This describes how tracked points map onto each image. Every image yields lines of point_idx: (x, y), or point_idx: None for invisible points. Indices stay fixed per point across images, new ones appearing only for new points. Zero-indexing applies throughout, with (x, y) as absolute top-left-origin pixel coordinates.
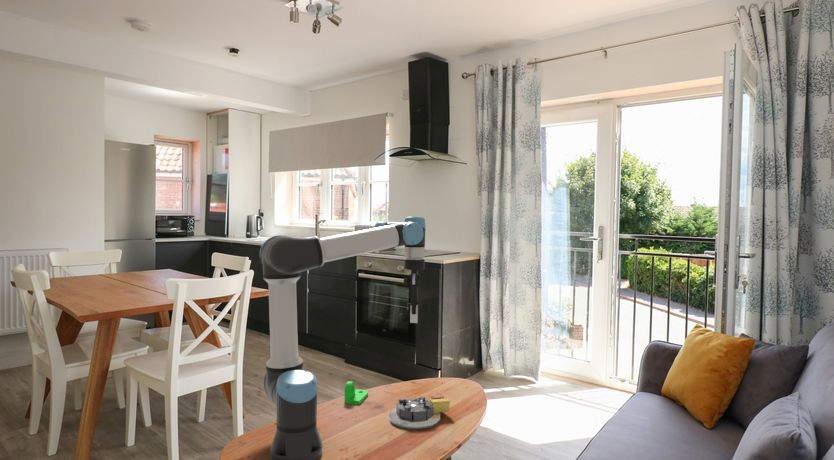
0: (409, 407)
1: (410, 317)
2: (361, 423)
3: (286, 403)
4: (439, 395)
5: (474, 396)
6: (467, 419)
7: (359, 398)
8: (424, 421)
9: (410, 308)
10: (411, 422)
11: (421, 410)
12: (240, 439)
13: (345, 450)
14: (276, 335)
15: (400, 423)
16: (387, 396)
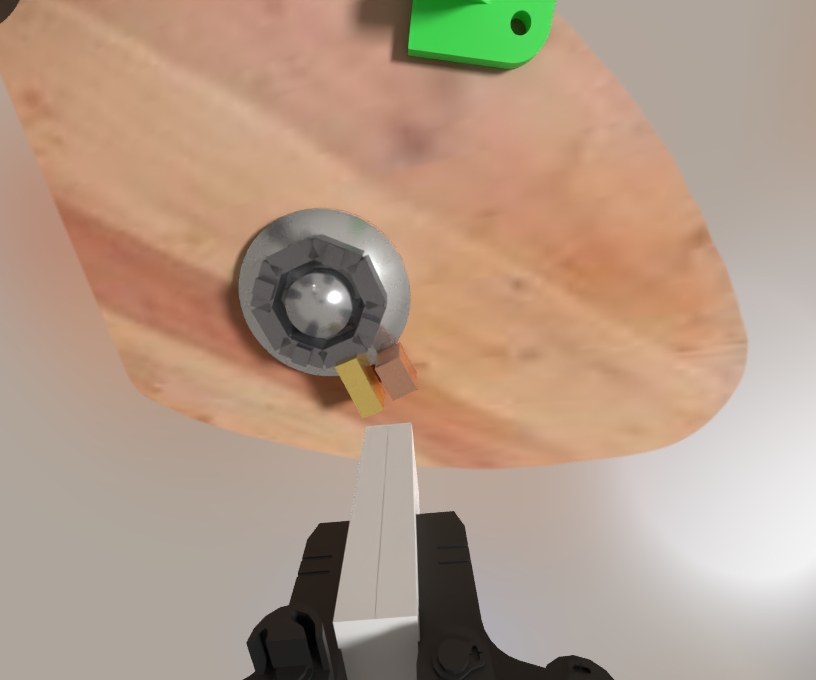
0: (260, 297)
1: (360, 468)
2: (243, 113)
3: None
4: (402, 384)
5: (546, 454)
6: (358, 440)
7: (438, 39)
8: None
9: (345, 567)
10: None
11: (272, 335)
12: None
13: (30, 114)
14: None
15: (243, 262)
16: (525, 157)
